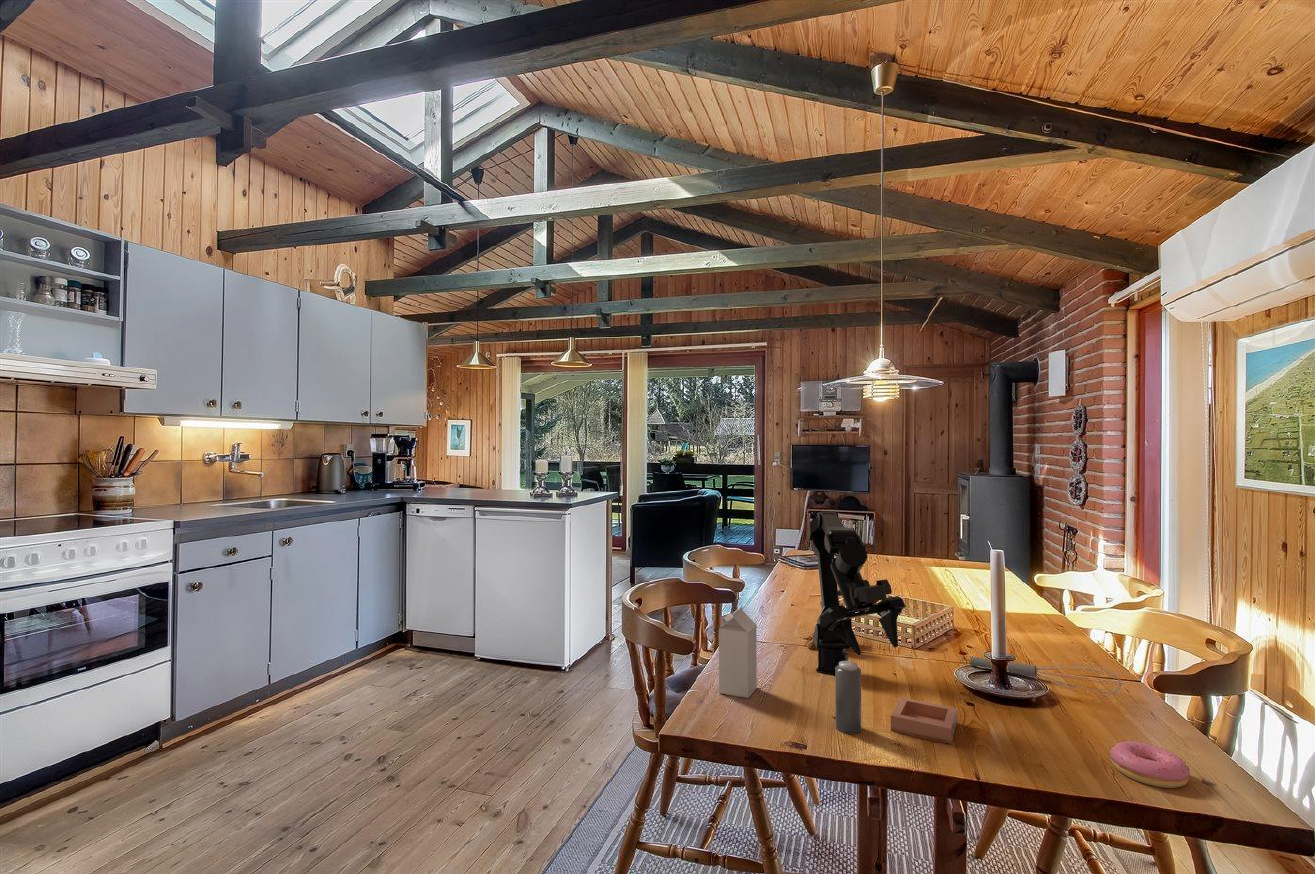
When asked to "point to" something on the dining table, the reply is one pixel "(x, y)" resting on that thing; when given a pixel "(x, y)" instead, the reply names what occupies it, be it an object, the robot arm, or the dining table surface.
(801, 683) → the dining table surface
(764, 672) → the dining table surface
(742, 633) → the milk carton
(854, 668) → the pepper mill
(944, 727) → the terracotta holder
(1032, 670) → the kitchen whisk
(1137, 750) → the doughnut
